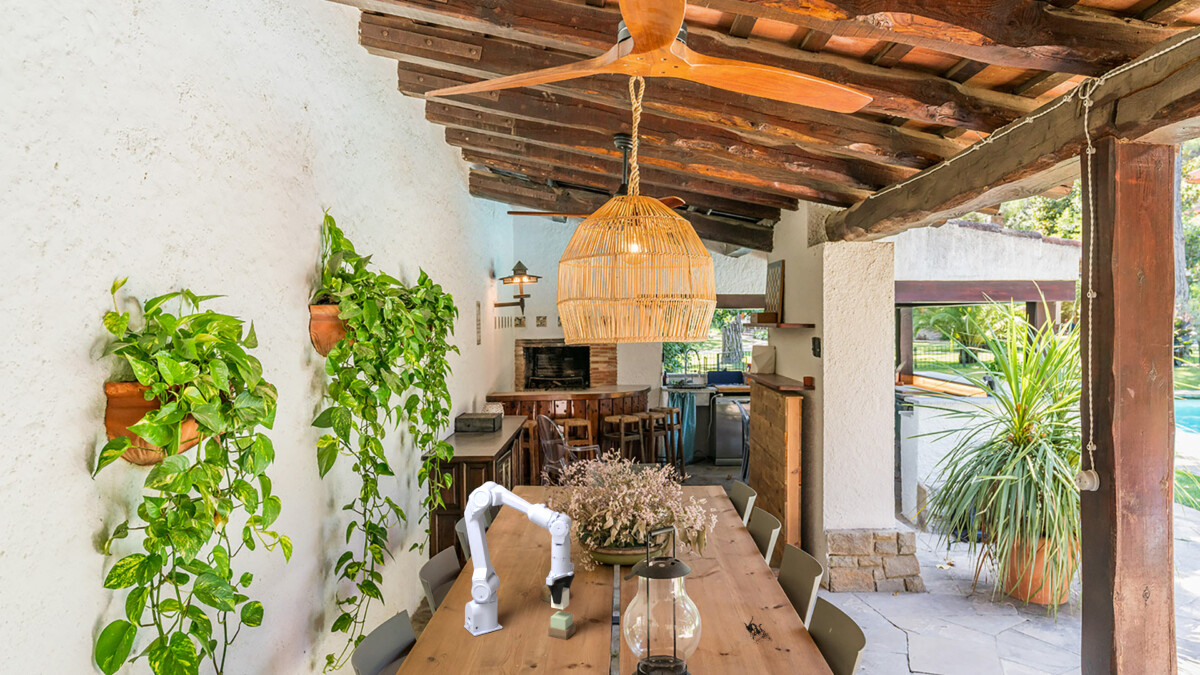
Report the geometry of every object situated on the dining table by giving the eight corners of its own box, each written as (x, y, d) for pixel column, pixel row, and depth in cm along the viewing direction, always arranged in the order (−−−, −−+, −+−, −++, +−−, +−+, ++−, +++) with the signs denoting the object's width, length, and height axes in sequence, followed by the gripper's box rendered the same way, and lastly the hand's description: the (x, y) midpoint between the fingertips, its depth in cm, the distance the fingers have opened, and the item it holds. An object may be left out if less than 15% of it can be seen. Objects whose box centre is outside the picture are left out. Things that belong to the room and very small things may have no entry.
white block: (562, 609, 197) (563, 592, 197) (551, 607, 199) (551, 590, 199) (569, 604, 201) (569, 588, 201) (557, 602, 202) (557, 586, 202)
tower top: (565, 630, 196) (565, 620, 196) (550, 627, 198) (550, 617, 198) (572, 623, 201) (572, 613, 201) (558, 620, 203) (558, 610, 203)
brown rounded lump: (542, 613, 223) (544, 595, 220) (537, 590, 232) (539, 572, 229) (570, 610, 226) (573, 592, 222) (564, 587, 235) (567, 570, 231)
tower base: (566, 641, 195) (566, 631, 195) (548, 637, 198) (548, 627, 198) (575, 633, 201) (575, 623, 201) (558, 629, 203) (558, 619, 203)
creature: (774, 640, 199) (750, 627, 204) (778, 624, 198) (754, 611, 203) (762, 649, 193) (738, 635, 198) (766, 633, 192) (742, 619, 197)
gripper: (561, 565, 191) (561, 612, 191) (583, 550, 204) (582, 594, 205) (540, 561, 194) (539, 607, 194) (562, 547, 207) (562, 590, 207)
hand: (560, 600), depth 200 cm, fingers closed on white block, 4 cm apart
